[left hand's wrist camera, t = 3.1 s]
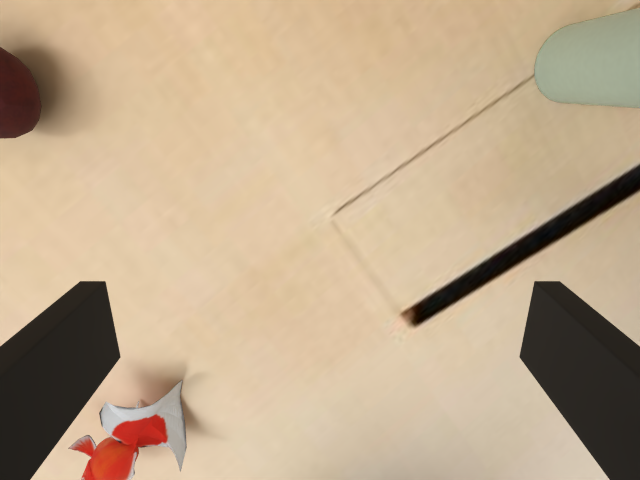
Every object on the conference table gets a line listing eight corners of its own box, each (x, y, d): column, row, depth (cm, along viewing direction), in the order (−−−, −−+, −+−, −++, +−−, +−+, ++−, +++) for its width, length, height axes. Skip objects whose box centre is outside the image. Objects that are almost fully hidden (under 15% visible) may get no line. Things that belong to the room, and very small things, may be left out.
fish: (26, 431, 44) (24, 512, 37) (151, 334, 48) (173, 391, 40) (96, 468, 51) (107, 545, 43) (202, 381, 54) (229, 437, 47)
